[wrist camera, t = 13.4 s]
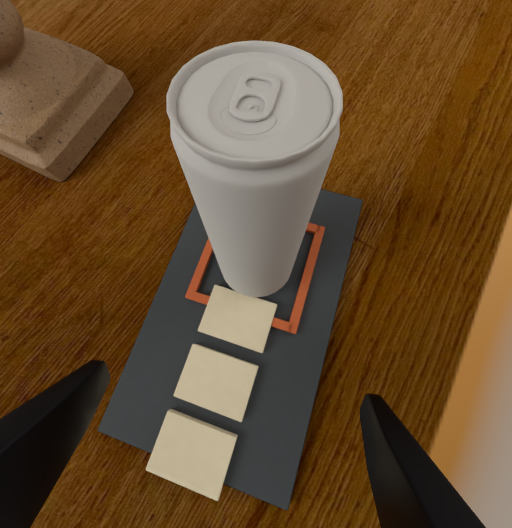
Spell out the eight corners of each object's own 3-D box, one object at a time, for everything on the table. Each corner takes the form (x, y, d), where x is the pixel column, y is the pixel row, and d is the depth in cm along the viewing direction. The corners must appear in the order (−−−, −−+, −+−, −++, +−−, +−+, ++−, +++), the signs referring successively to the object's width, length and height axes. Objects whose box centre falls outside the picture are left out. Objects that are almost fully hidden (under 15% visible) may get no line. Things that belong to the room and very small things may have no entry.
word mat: (284, 517, 14) (285, 531, 13) (98, 438, 16) (86, 445, 15) (360, 203, 20) (365, 195, 19) (214, 165, 21) (211, 156, 20)
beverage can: (212, 289, 17) (128, 144, 6) (232, 228, 19) (196, 27, 8) (283, 307, 17) (336, 185, 5) (297, 242, 18) (358, 50, 7)
